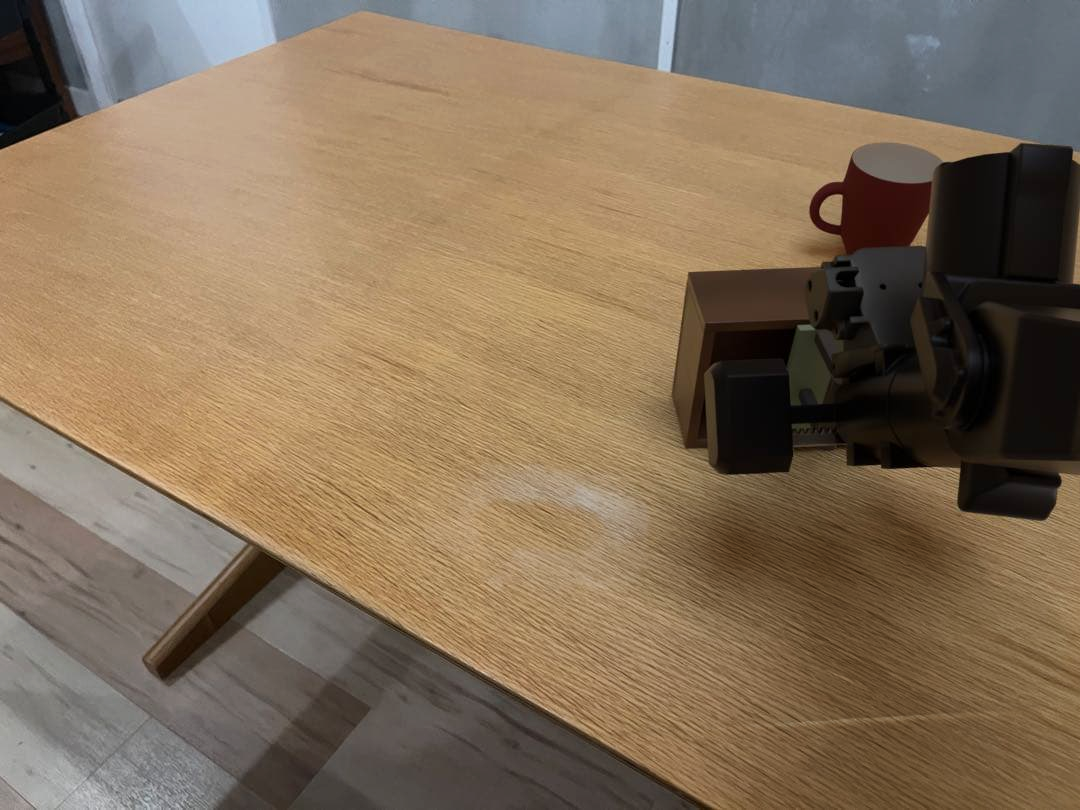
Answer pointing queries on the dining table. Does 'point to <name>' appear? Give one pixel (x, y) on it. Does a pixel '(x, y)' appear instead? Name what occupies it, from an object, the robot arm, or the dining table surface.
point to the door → (813, 372)
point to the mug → (880, 196)
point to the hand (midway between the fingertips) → (821, 415)
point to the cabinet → (732, 331)
